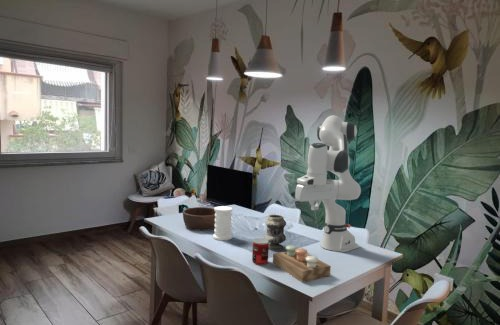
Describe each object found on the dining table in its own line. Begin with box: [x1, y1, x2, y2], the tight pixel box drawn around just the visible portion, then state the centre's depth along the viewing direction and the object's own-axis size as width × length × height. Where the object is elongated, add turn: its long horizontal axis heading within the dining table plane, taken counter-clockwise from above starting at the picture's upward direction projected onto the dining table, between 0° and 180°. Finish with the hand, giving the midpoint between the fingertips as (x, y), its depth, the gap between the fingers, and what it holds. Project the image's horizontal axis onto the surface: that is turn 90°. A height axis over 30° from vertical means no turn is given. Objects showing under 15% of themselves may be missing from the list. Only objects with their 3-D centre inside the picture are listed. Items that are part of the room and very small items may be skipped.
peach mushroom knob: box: [295, 248, 308, 262], centre depth 172 cm, size 6×6×8 cm
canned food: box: [251, 238, 270, 266], centre depth 179 cm, size 8×8×11 cm
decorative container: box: [212, 205, 233, 242], centre depth 216 cm, size 12×12×18 cm
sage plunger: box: [285, 245, 298, 256], centre depth 179 cm, size 6×6×8 cm
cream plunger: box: [306, 255, 319, 268], centre depth 165 cm, size 6×6×8 cm
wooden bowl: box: [182, 206, 215, 231], centre depth 238 cm, size 25×25×10 cm
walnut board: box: [272, 250, 332, 283], centre depth 172 cm, size 16×24×5 cm, turn 29°
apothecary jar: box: [263, 214, 287, 251], centre depth 202 cm, size 12×12×18 cm
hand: (314, 209), depth 162 cm, fingers closed
